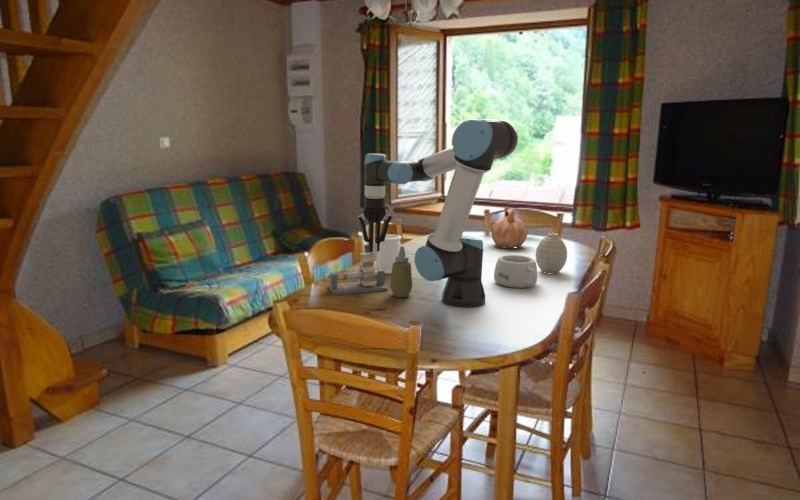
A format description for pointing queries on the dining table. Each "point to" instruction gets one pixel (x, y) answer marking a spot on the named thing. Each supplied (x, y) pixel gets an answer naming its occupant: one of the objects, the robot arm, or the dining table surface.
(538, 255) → the vase
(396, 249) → the jar
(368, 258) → the cream wooden block stack
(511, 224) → the jug
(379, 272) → the grey slider rail stand
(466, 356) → the dining table surface
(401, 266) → the squeeze bottle
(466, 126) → the robot arm
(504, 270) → the mug
